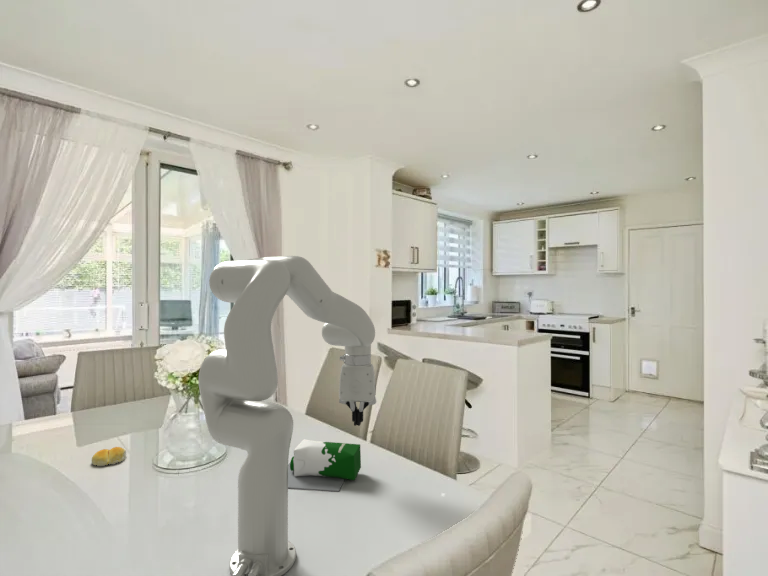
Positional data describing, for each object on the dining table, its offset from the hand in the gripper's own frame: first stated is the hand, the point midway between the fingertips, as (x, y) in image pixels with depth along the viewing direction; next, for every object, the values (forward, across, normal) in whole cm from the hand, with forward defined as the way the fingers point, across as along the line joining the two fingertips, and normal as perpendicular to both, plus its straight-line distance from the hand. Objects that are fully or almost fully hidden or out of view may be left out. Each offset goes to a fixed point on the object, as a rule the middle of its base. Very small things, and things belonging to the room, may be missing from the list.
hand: (357, 424), depth 116 cm
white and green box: (+11, 0, 0) cm, 11 cm away
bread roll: (+16, -80, +2) cm, 81 cm away
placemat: (+16, -13, 0) cm, 20 cm away
